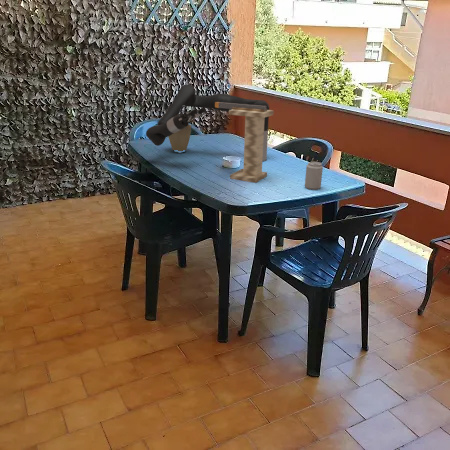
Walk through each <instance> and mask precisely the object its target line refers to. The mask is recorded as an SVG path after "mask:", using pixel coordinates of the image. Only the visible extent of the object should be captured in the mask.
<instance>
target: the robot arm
mask: <svg viewBox="0 0 450 450" xmlns="http://www.w3.org/2000/svg"><path fill="white" fill-rule="evenodd" d="M215 102H224V103H236V104H248V105H260V106H266V109H267V110H270V105H269V103H268V102H267V101H265V100H264V99H249V98H243V97H239V96H236V95H231V94H226V93H214V94H211V95H206V96H205V95H199V94H196V90H195V87H194V86H193V85H192V84H189V83H187V84H184V85H182V86H180V88H179V90H178V92H177V93H176V96H175V98H174V99H173V100H172V102H171V104H170V105H169V107H168V108H167V110H166V111H165V113H164V114H163V115H162V116H161V118H159V120H158V122H157V125H153V126H150V127H148V129H146V131H145V135H146V137H147V139H148V140H149V141H150V142H152V143H153V145H155V146H157V147H159V146H161V145H163V143H164V142H166V141H165V140H166V139H167V137H168V136H170V135H172V134H174V133H176V132H178V131H180V130H182V129H183V128H185V127H187V126H188V125H190V123H189V122H191V121H193V120H195V119H196V118H198V117H200V116H202V114H204V113H205V112H207V109H209V110H216V111H221V112H228V113H229V110H232V109H226V108H215ZM183 107H188V108H189V107H191V108H194V109H193V110H191V111H189V112H185V113H182V112H181V110H182V108H183ZM197 108H199V109H197ZM269 117H270V116H268V117H265V120H264V140H263V159H262V162H265V161H267V157H268V155H267V154H268V137H269ZM168 138H169V137H168Z"/></svg>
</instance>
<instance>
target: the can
mask: <svg viewBox="0 0 450 450" xmlns="http://www.w3.org/2000/svg"><path fill="white" fill-rule="evenodd" d="M323 167H324V166H323V165H322V162H318V161H310V162H309V161H308V164H306V167H305V168H306V169H305V179H304V187H305V188H306V189H308V190H313V191H315V190H316V191H317V190H319V189H321V187H322V181H323V180H322V179H323V170H324V169H323Z"/></svg>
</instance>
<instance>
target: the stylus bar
mask: <svg viewBox="0 0 450 450" xmlns="http://www.w3.org/2000/svg"><path fill="white" fill-rule="evenodd" d="M232 107H238V108H250V109H261V110H264V112H265V111H266V106H260V105H248V104H236V103H224V102H215V108H226V109H232Z"/></svg>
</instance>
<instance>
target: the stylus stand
mask: <svg viewBox="0 0 450 450" xmlns="http://www.w3.org/2000/svg"><path fill="white" fill-rule="evenodd" d="M274 111H275V110H272V109H269V110H267V109H266V111H265V112H264V110H261V109H250V108H238V107H232V110H229V112H228V116H229V115H230V116H231V115H232V116H242V117H245V119H244V139H243V140H244V141H243V142H244V143H243V144H244V145H243V168H241V169H239V170H237V171H235V172H233V173H230V175H229V179H230V180H234V179H235V180H236V181H242V182H249V183H255V184H257V183H258V182H260V181H262V180H263V179H265V178H267V177H268V171H263V161H262V159H263V140H264V120H265V117H268V116H269V117H271V116H274Z"/></svg>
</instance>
